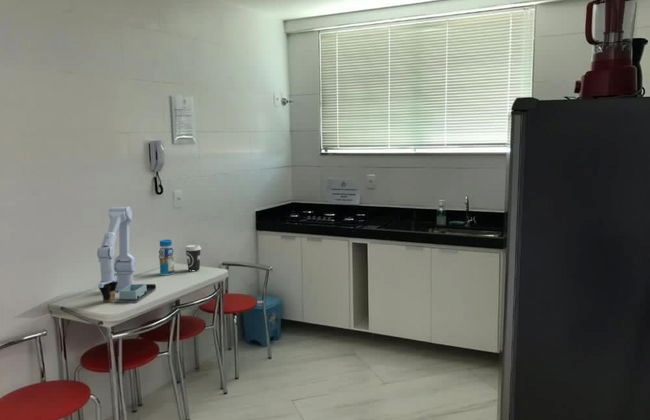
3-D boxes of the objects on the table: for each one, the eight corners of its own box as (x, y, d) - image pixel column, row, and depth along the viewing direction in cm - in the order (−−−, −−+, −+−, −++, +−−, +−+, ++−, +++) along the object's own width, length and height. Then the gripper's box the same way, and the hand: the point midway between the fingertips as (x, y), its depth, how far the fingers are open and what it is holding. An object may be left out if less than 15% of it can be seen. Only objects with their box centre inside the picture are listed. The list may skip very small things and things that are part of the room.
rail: (116, 302, 248) (116, 296, 248) (137, 289, 271) (137, 284, 270) (136, 303, 248) (136, 296, 247) (155, 289, 270) (155, 284, 269)
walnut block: (103, 302, 249) (102, 293, 249) (107, 299, 253) (106, 290, 253) (111, 302, 249) (110, 293, 249) (115, 299, 253) (114, 291, 253)
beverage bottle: (158, 273, 305) (156, 240, 302) (173, 271, 309) (171, 238, 306) (161, 276, 297) (159, 242, 295) (176, 274, 301) (174, 240, 299)
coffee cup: (198, 272, 305) (197, 247, 303) (183, 272, 307) (181, 247, 305) (204, 268, 315) (203, 244, 313) (190, 268, 316) (188, 244, 314)
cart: (118, 299, 250) (117, 291, 249) (129, 292, 262) (129, 284, 261) (137, 299, 249) (136, 291, 248) (148, 292, 261) (147, 284, 260)
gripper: (107, 274, 242) (109, 302, 244) (122, 267, 256) (124, 293, 258) (93, 274, 242) (95, 302, 244) (108, 267, 257) (110, 293, 259)
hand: (109, 298), depth 251 cm, fingers closed on walnut block, 4 cm apart
